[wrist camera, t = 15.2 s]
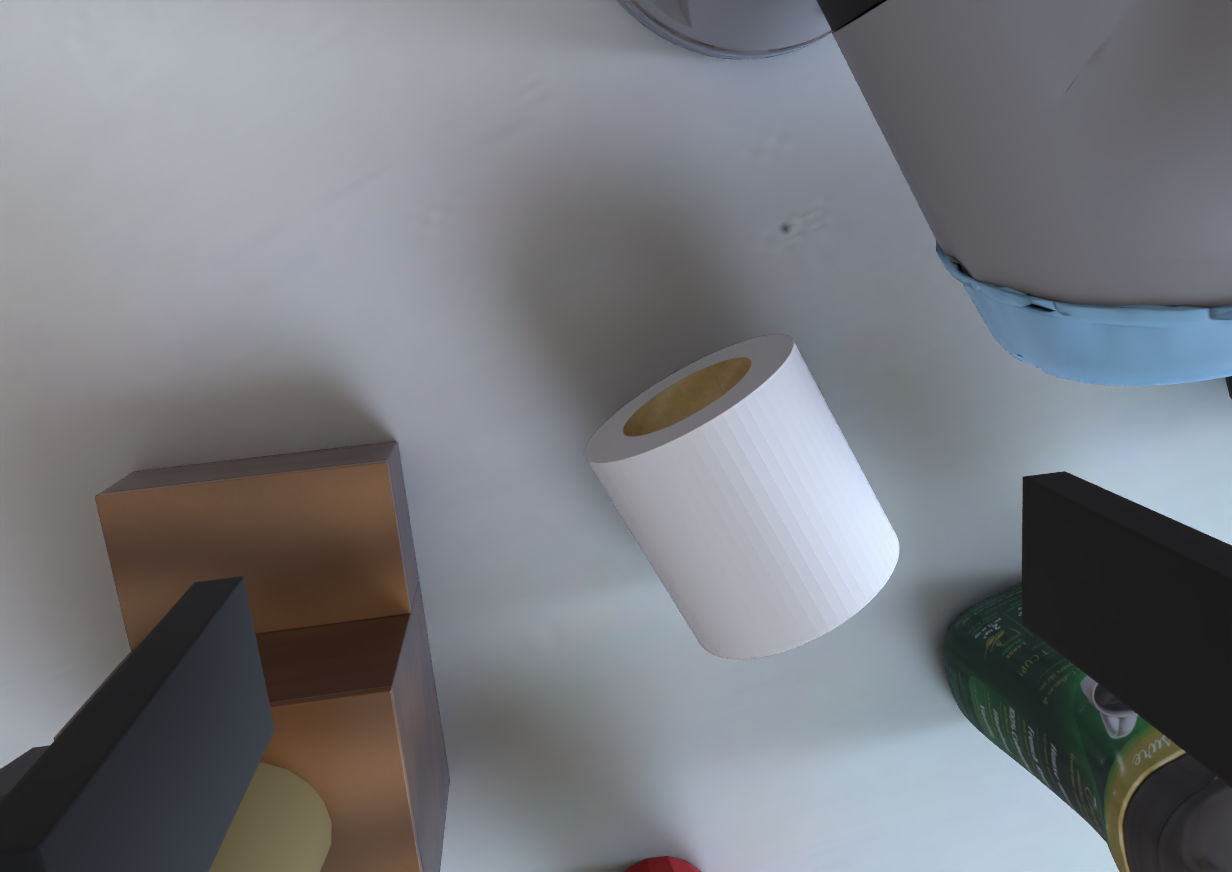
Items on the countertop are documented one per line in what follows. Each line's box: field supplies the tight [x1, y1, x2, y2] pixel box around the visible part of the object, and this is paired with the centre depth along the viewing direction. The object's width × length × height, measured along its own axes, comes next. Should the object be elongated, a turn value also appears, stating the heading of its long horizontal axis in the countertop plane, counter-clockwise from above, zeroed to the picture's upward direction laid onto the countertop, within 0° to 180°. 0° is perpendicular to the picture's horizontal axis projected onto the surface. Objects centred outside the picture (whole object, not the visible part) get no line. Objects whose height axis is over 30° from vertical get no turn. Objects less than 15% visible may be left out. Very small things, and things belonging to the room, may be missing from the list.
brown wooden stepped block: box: [54, 441, 450, 872], centre depth 38 cm, size 18×12×15 cm, turn 5°
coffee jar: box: [943, 583, 1232, 872], centre depth 40 cm, size 10×8×19 cm
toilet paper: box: [584, 334, 899, 659], centre depth 40 cm, size 10×10×10 cm
